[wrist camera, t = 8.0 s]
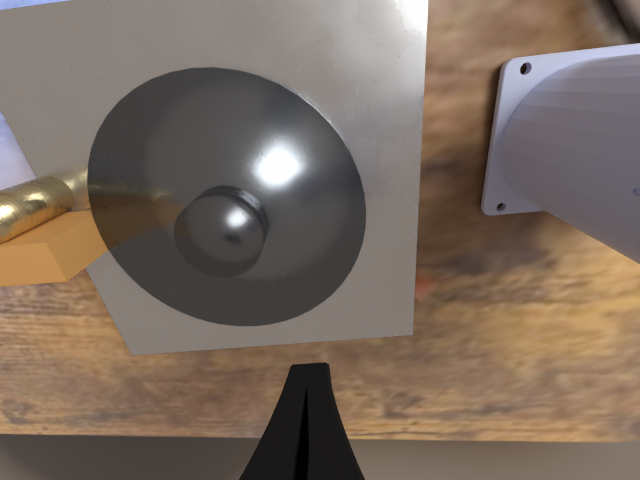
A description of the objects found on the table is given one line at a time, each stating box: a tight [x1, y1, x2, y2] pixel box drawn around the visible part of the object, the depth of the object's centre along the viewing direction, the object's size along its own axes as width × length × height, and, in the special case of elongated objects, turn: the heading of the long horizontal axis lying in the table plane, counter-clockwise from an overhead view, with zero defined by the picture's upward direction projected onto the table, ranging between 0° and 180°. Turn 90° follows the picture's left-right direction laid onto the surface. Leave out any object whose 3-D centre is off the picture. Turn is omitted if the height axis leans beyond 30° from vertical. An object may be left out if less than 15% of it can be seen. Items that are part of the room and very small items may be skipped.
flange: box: [0, 67, 366, 326], centre depth 15 cm, size 18×14×4 cm
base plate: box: [0, 0, 428, 355], centre depth 16 cm, size 20×20×6 cm
